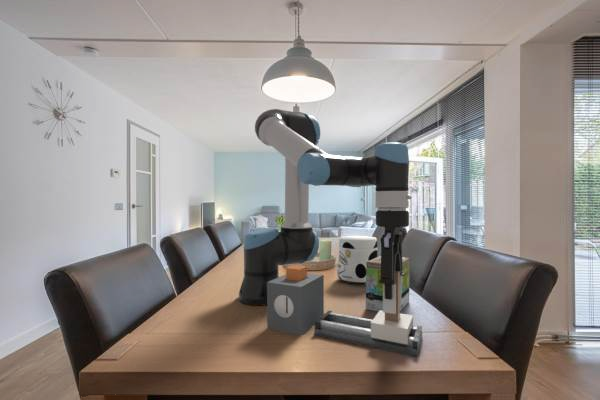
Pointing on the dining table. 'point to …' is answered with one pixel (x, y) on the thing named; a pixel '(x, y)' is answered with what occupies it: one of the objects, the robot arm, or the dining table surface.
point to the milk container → (355, 257)
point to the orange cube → (296, 273)
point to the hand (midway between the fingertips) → (392, 307)
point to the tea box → (376, 289)
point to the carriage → (392, 321)
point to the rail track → (363, 333)
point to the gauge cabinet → (295, 303)
